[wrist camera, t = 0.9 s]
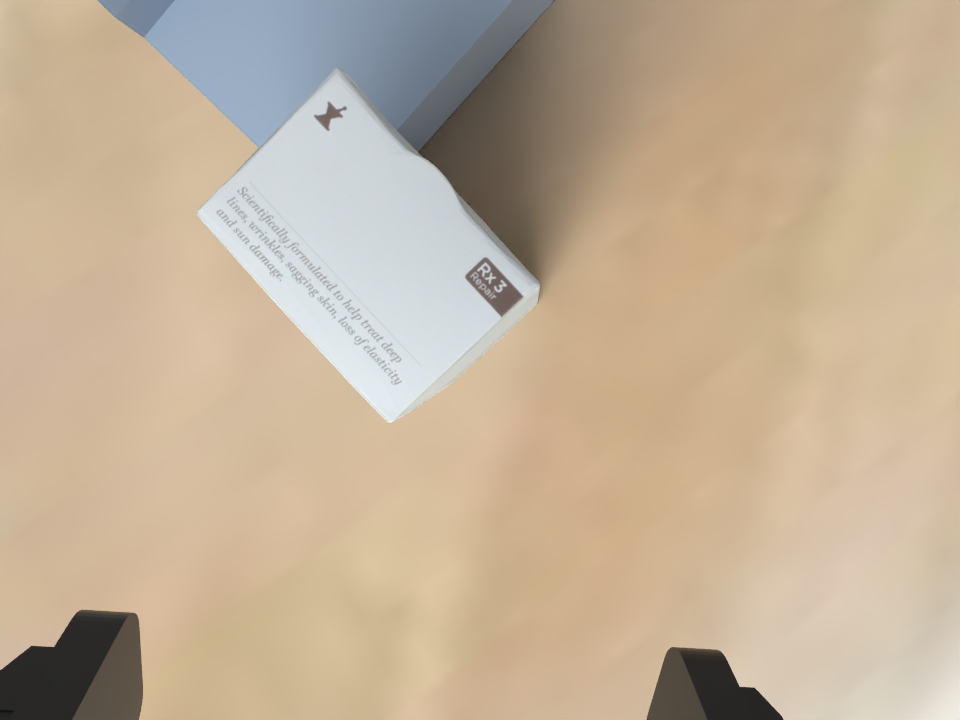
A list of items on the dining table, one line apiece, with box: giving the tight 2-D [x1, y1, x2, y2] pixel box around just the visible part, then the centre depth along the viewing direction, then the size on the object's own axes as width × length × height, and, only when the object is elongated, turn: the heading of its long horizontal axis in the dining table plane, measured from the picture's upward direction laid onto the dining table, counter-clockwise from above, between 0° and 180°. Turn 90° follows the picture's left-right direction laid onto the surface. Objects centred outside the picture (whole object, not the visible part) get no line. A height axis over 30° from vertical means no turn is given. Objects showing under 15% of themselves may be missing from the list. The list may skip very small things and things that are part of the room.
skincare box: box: [197, 67, 540, 423], centre depth 27 cm, size 8×6×15 cm
